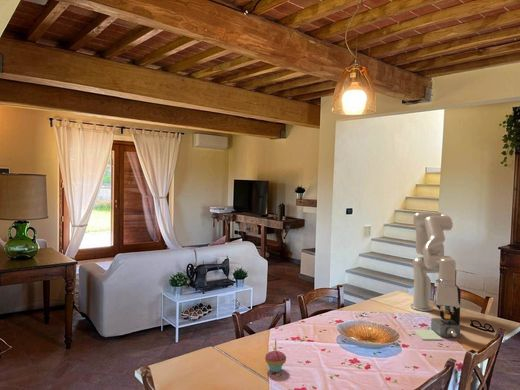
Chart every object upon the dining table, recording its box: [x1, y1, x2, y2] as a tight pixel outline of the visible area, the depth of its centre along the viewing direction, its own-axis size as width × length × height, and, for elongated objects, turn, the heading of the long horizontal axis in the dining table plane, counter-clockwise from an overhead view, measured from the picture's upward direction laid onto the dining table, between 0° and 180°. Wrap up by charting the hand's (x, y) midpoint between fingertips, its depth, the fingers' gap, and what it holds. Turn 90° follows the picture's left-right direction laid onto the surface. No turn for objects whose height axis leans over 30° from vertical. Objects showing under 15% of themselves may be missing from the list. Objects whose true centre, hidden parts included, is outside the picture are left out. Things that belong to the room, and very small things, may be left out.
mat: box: [412, 329, 444, 341], centre depth 193 cm, size 12×10×1 cm
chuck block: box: [430, 317, 461, 338], centre depth 194 cm, size 15×10×6 cm
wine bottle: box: [444, 271, 462, 326], centre depth 209 cm, size 8×8×30 cm
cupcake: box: [264, 337, 287, 373], centre depth 154 cm, size 9×8×12 cm
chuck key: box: [443, 309, 451, 323], centre depth 196 cm, size 3×7×9 cm, turn 165°
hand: (445, 318), depth 196 cm, fingers closed on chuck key, 2 cm apart
